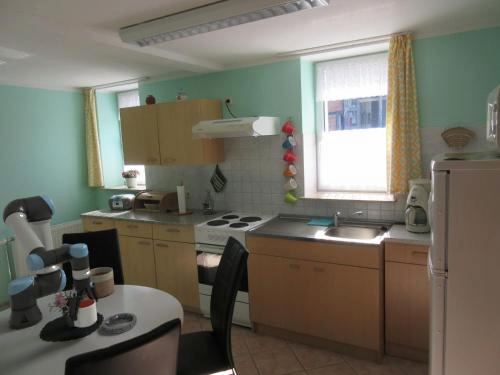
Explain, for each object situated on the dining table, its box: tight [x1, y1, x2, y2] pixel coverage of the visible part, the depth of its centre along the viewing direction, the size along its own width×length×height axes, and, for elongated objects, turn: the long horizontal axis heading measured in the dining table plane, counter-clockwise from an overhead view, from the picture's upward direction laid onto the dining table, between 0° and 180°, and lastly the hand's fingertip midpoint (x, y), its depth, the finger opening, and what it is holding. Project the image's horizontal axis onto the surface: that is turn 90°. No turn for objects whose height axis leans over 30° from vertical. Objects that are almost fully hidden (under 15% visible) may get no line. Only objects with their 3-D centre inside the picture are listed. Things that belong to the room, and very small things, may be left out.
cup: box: [78, 298, 98, 328], centre depth 178 cm, size 10×10×10 cm
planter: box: [90, 266, 116, 299], centre depth 227 cm, size 16×16×14 cm
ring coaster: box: [101, 312, 138, 335], centre depth 186 cm, size 16×16×3 cm
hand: (85, 320), depth 179 cm, fingers closed on cup, 10 cm apart
